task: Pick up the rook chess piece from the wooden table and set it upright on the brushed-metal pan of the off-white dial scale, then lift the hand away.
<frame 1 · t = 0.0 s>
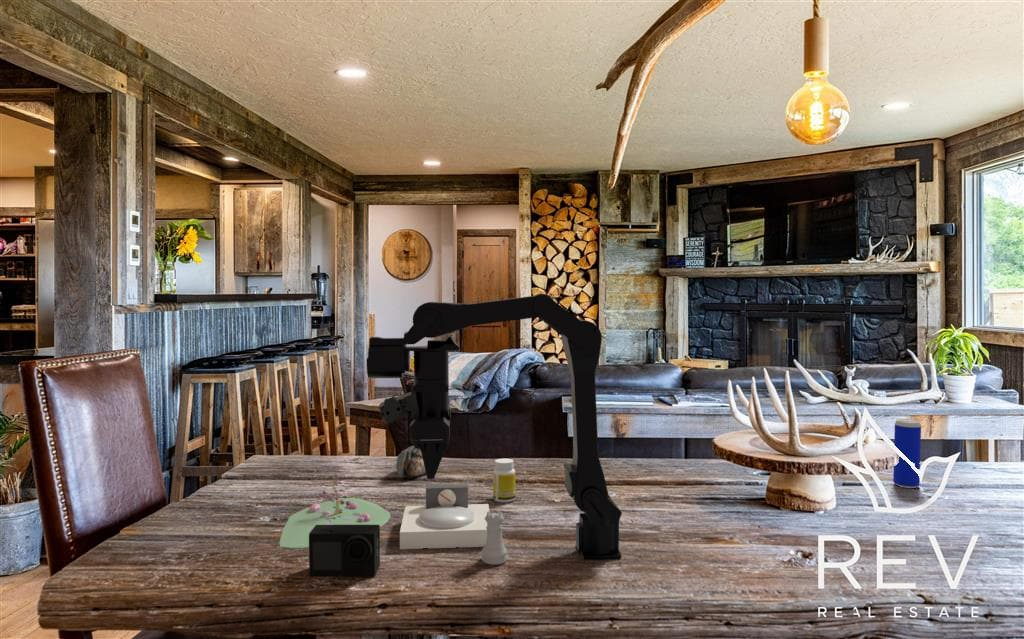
hand: (431, 471, 113), 15 cm above the table, fingers open, 9 cm apart
plant: (331, 527, 130), on the table
digital camera: (344, 574, 107), on the table
supplement bottle: (504, 500, 144), on the table
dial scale: (446, 533, 124), on the table
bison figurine: (419, 475, 164), on the table
rook chess piece: (494, 561, 112), on the table
beverage can: (906, 486, 154), on the table
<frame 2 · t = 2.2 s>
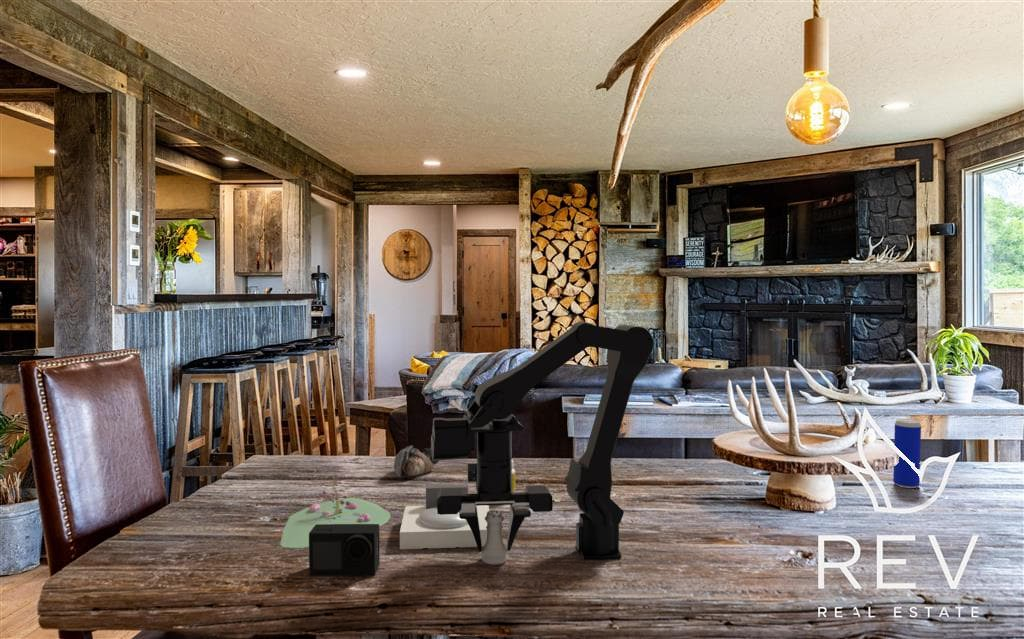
hand: (494, 550, 112), 2 cm above the table, fingers closed on rook chess piece, 4 cm apart
rook chess piece: (494, 561, 112), on the table, touching gripper
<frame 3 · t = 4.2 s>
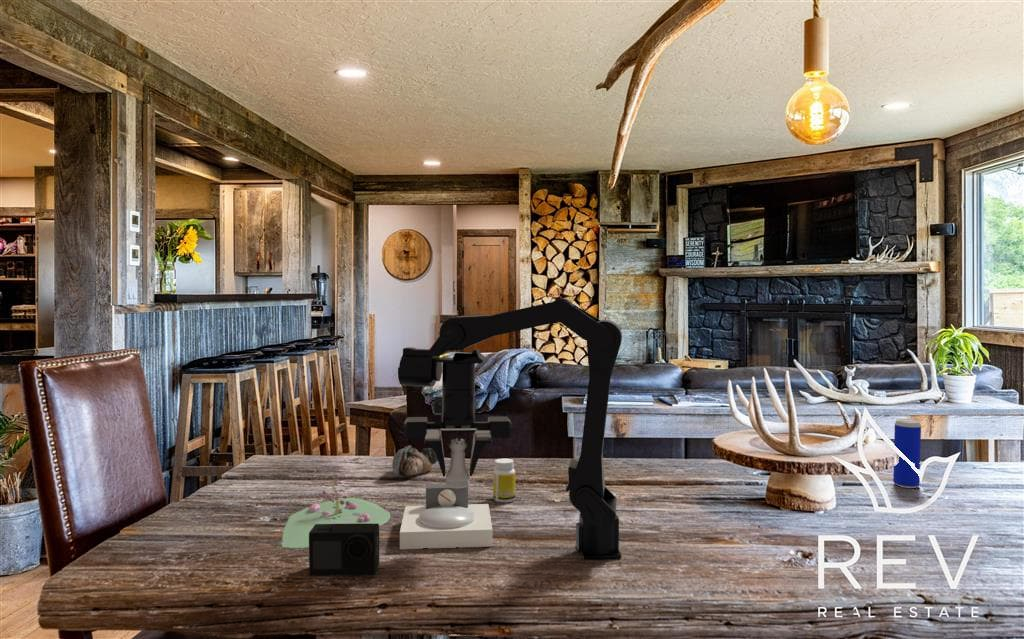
hand: (457, 475, 119), 12 cm above the table, fingers closed on rook chess piece, 4 cm apart
rook chess piece: (457, 486, 119), point 10 cm above the table, touching gripper
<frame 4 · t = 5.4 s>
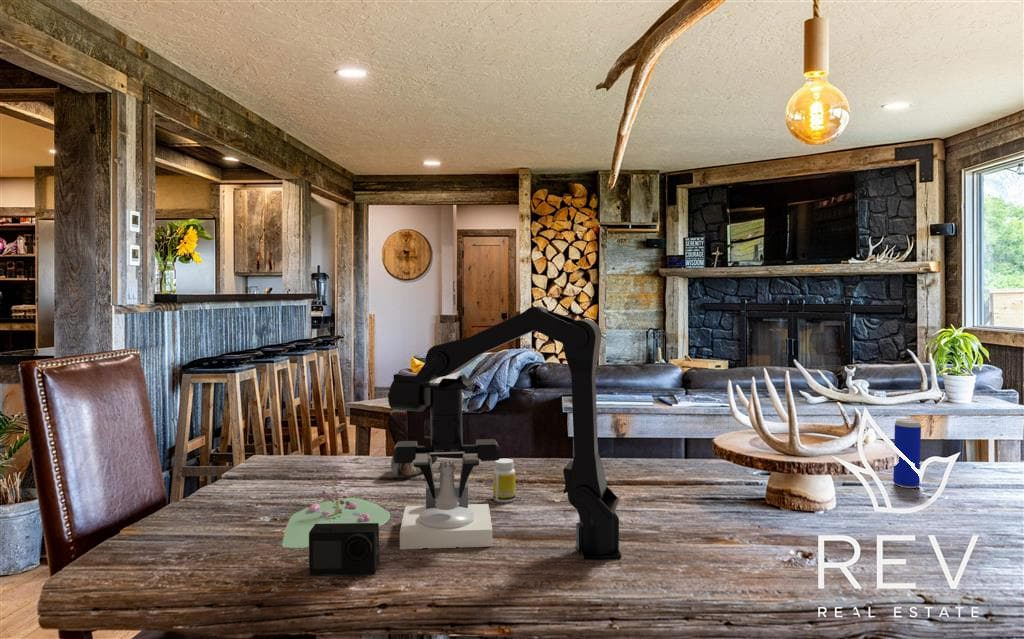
hand: (447, 497, 123), 7 cm above the table, fingers closed on rook chess piece, 4 cm apart
rook chess piece: (447, 507, 123), point 5 cm above the table, touching gripper
when the fingers open (7 cm above the table, at t = 6.1 s): rook chess piece drops 1 cm, resting on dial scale.
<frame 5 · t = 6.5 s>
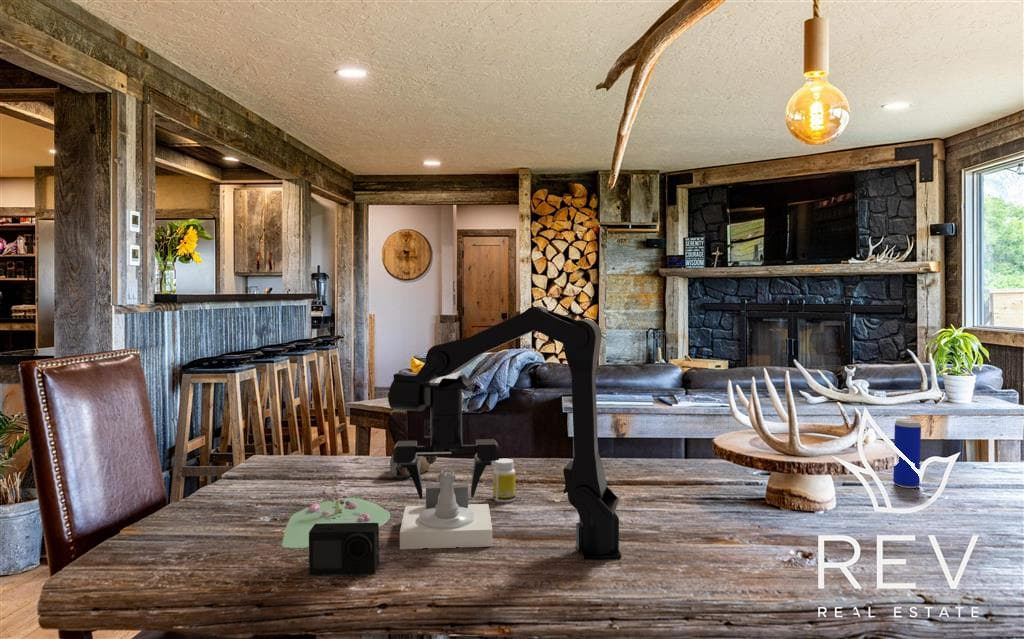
hand: (446, 497, 123), 7 cm above the table, fingers open, 9 cm apart
rook chess piece: (446, 515, 123), point 4 cm above the table, touching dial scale
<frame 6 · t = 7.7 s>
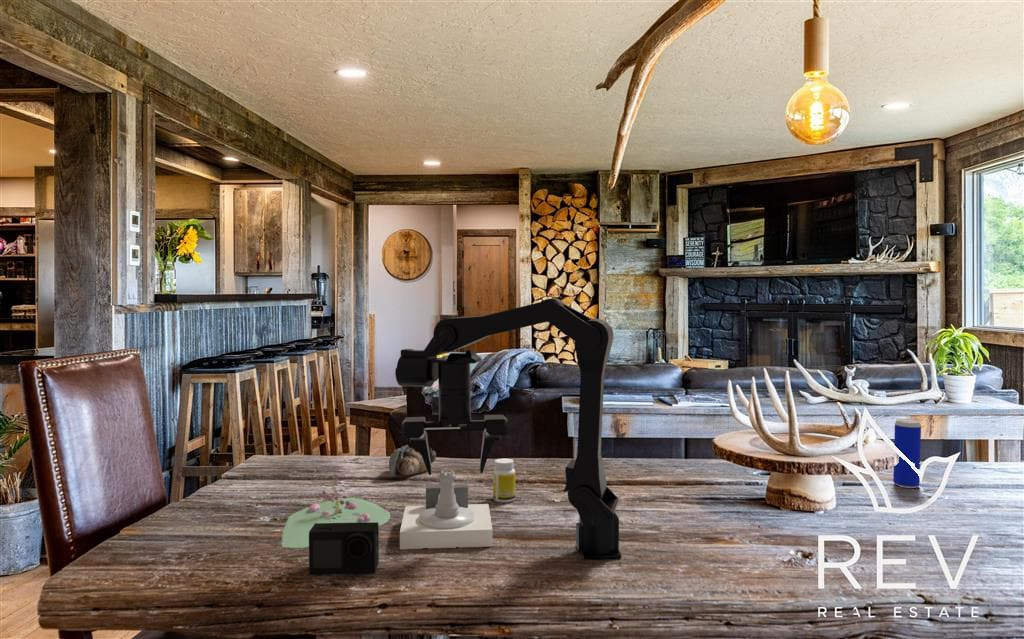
hand: (455, 473, 122), 12 cm above the table, fingers open, 9 cm apart
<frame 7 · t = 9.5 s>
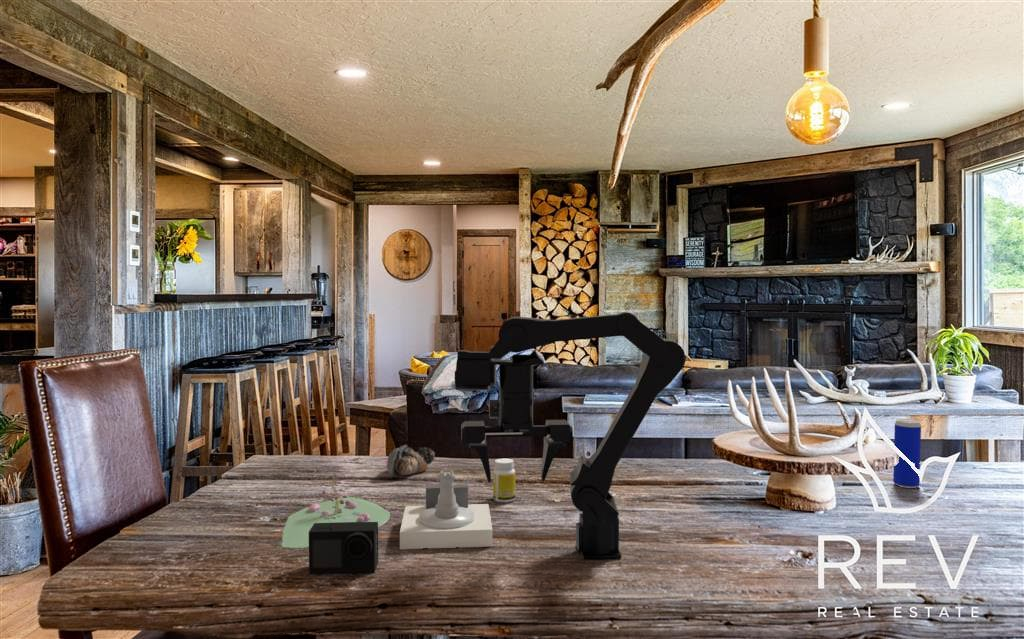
hand: (516, 481, 116), 12 cm above the table, fingers open, 9 cm apart
at the end: rook chess piece inside the target area on the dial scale (0.1 cm from its centre), point 3.6 cm above the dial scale's base; rook chess piece tilted 0°; the gripper is holding nothing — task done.
